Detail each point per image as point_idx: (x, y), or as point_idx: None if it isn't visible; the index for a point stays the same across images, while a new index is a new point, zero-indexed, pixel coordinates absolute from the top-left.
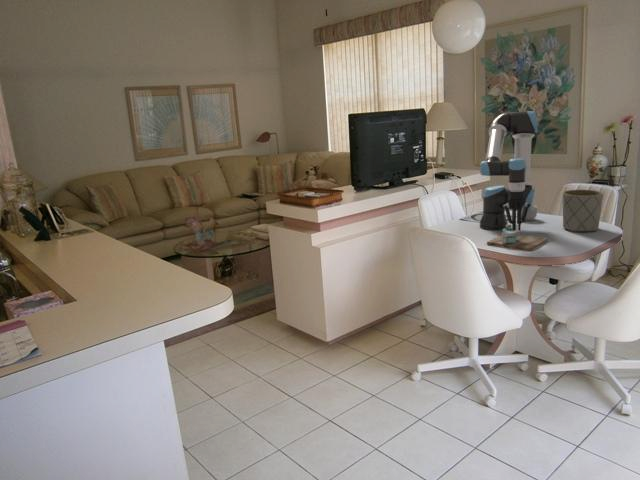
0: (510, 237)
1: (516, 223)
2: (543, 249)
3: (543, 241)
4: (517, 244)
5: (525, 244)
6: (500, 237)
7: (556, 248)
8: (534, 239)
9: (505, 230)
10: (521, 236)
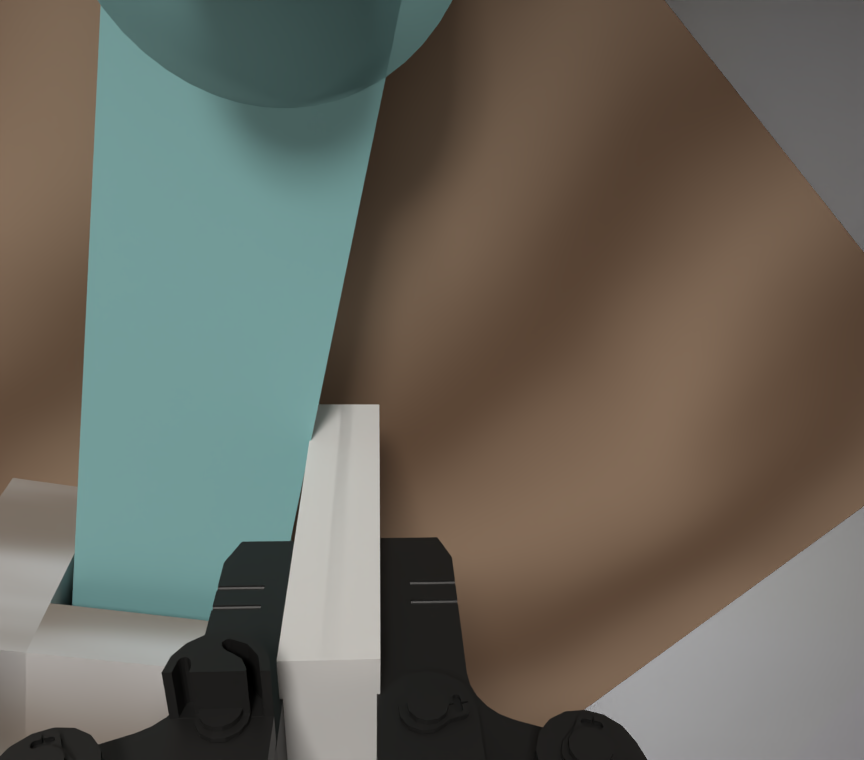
0: None
1: (362, 665)
2: None
3: (790, 547)
4: None
5: None
6: (10, 152)
7: (786, 724)
8: (705, 454)
9: (125, 27)
10: (574, 165)
